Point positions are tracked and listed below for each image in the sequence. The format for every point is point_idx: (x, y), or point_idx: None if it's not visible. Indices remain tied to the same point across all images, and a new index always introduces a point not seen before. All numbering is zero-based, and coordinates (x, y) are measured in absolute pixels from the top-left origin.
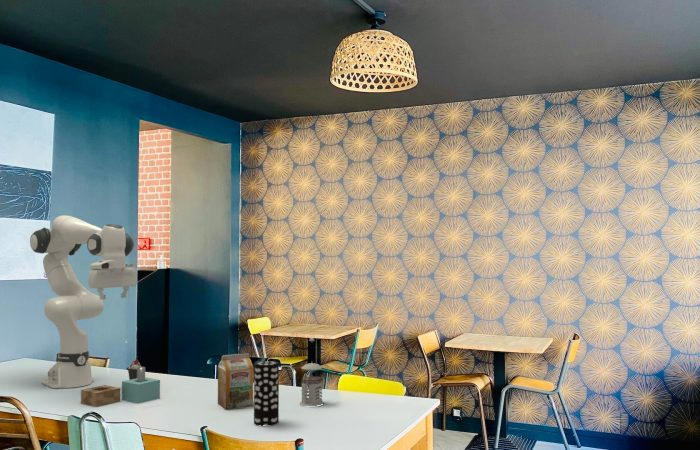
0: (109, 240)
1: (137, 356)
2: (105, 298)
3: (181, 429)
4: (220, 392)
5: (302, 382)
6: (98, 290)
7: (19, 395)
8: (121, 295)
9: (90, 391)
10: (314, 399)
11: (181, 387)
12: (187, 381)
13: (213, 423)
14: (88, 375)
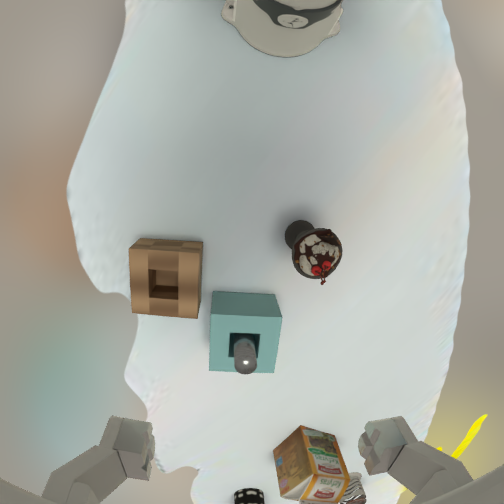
0: None
1: (325, 281)
2: (152, 453)
3: (167, 459)
4: (293, 450)
5: (353, 494)
6: (60, 491)
7: (134, 19)
8: (375, 442)
9: (132, 285)
10: None
11: (385, 288)
12: (434, 252)
13: (210, 470)
14: (311, 39)
